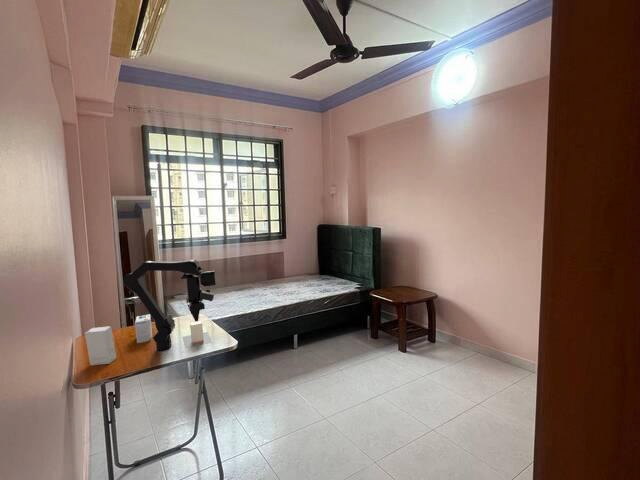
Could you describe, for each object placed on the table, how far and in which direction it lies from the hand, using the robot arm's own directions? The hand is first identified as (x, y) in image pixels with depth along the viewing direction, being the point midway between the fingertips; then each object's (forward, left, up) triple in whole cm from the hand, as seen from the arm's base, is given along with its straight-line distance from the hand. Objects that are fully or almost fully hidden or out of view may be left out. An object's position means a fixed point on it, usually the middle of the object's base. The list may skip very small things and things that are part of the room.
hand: (196, 320), depth 155 cm
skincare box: (-17, +35, -13) cm, 41 cm away
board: (+11, +8, -12) cm, 18 cm away
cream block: (+3, +2, -11) cm, 12 cm away
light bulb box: (+9, +34, -13) cm, 38 cm away
